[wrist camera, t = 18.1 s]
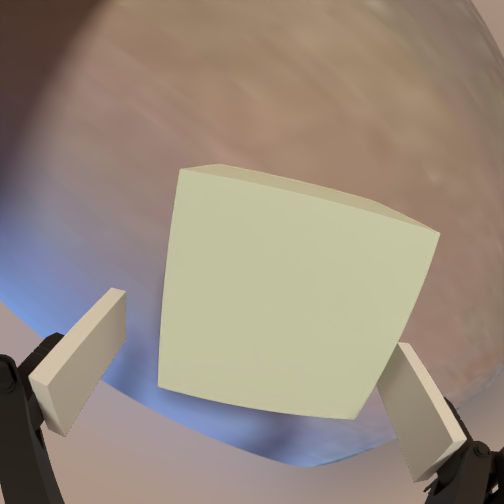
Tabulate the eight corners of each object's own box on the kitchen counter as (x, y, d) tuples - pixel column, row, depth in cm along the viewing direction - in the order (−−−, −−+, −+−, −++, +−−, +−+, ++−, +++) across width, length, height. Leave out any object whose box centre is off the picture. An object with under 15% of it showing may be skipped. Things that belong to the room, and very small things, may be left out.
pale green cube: (195, 306, 22) (157, 386, 13) (219, 163, 19) (180, 169, 10) (329, 333, 22) (354, 419, 13) (372, 200, 19) (440, 233, 10)
